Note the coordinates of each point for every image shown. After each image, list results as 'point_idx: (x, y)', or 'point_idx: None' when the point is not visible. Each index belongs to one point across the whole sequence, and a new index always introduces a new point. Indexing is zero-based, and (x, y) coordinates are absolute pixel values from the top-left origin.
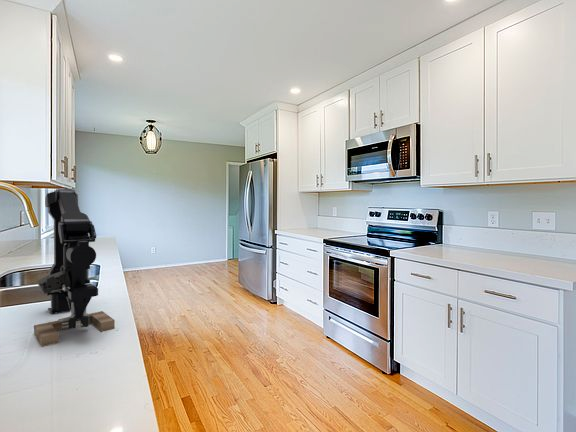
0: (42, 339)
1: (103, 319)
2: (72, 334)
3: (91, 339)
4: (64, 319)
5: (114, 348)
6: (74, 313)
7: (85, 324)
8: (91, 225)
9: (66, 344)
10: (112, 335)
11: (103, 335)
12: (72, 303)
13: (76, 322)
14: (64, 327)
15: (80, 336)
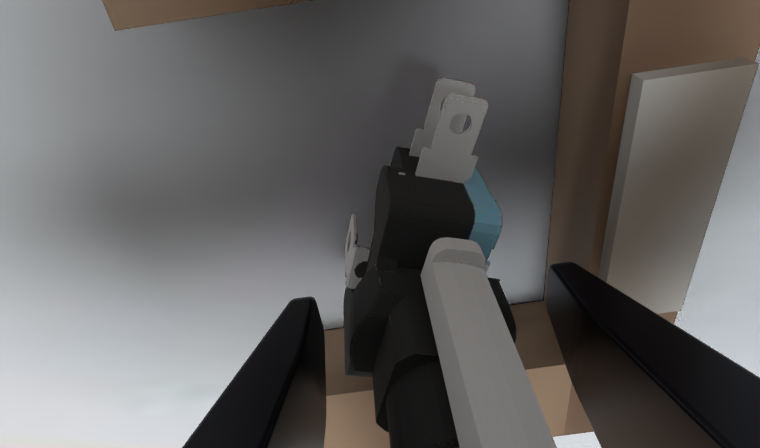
0: None
1: (369, 419)
2: (361, 147)
3: (119, 269)
4: (654, 137)
5: None
6: (407, 327)
7: (349, 299)
8: None
9: (62, 78)
10: (148, 381)
11: (180, 340)
12: None
13: (362, 255)
14: (575, 97)
15: (252, 204)
